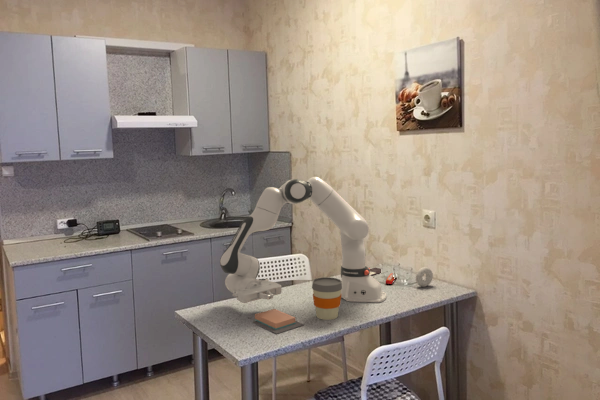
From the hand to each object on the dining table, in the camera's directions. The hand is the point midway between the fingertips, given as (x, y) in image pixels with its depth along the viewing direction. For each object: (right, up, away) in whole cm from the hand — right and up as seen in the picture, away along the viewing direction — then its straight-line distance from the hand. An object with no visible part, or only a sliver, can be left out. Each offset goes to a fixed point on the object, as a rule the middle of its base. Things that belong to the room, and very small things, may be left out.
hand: (270, 297), depth 204 cm
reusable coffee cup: (+23, -9, +6) cm, 26 cm away
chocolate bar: (+52, -1, +73) cm, 89 cm away
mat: (+3, -11, -2) cm, 11 cm away
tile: (-3, -8, +4) cm, 10 cm away
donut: (+74, -4, +46) cm, 88 cm away
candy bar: (+60, -3, +57) cm, 82 cm away
